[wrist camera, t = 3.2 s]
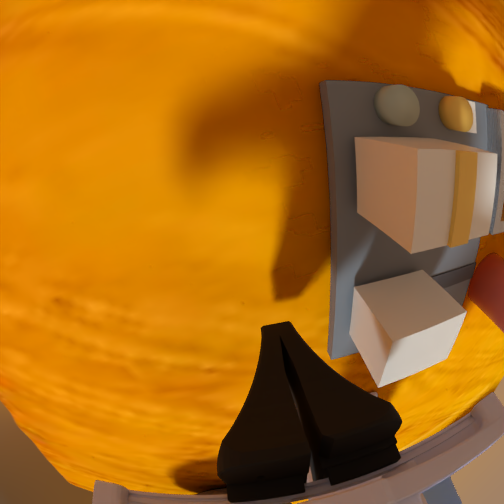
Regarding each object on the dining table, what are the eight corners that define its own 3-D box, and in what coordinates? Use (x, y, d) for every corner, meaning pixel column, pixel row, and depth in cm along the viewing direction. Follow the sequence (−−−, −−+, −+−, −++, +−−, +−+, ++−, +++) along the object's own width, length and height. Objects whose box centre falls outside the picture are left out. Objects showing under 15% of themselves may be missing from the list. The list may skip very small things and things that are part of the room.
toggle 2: (412, 314, 14) (447, 358, 11) (349, 333, 14) (377, 387, 11) (422, 269, 13) (466, 311, 9) (353, 287, 13) (392, 341, 9)
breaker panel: (453, 308, 17) (466, 322, 15) (327, 350, 16) (336, 371, 15) (479, 104, 10) (500, 106, 8) (319, 82, 10) (335, 76, 8)
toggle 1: (431, 202, 11) (491, 236, 7) (356, 212, 11) (414, 256, 7) (433, 138, 10) (501, 155, 6) (354, 136, 10) (421, 149, 6)
